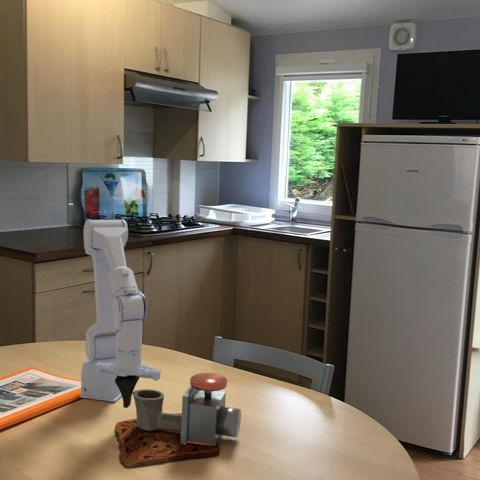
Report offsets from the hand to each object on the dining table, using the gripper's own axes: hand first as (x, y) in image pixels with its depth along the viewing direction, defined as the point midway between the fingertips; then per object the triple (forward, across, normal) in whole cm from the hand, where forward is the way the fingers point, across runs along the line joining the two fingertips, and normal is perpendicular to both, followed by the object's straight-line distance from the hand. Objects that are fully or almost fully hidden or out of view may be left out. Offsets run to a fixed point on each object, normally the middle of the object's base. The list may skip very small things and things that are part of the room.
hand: (127, 406), depth 140 cm
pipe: (+5, +8, 0) cm, 9 cm away
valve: (+4, +20, 0) cm, 20 cm away
